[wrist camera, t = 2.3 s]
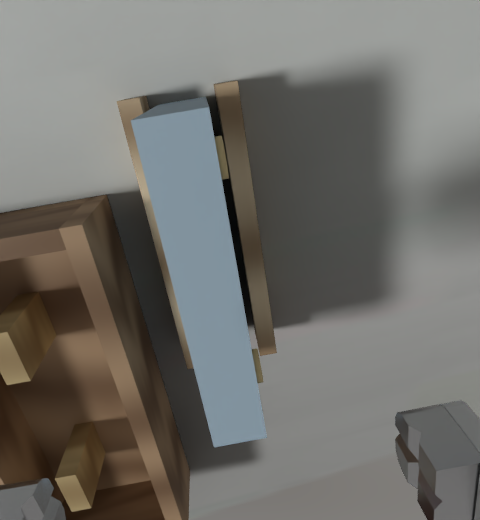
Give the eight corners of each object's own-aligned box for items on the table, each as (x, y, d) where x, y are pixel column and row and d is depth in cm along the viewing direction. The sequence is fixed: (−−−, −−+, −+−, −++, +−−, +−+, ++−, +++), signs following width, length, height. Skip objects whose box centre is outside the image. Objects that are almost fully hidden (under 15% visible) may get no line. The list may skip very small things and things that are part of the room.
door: (158, 104, 20) (130, 120, 12) (211, 95, 20) (218, 105, 12) (209, 332, 26) (213, 447, 18) (250, 325, 26) (273, 436, 18)
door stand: (126, 99, 20) (116, 101, 18) (233, 80, 20) (237, 80, 18) (188, 344, 26) (187, 369, 24) (270, 329, 26) (276, 352, 24)
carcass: (-78, 226, 22) (-152, 265, 17) (106, 194, 22) (82, 224, 17) (60, 494, 31) (36, 566, 26) (189, 470, 31) (187, 538, 26)
